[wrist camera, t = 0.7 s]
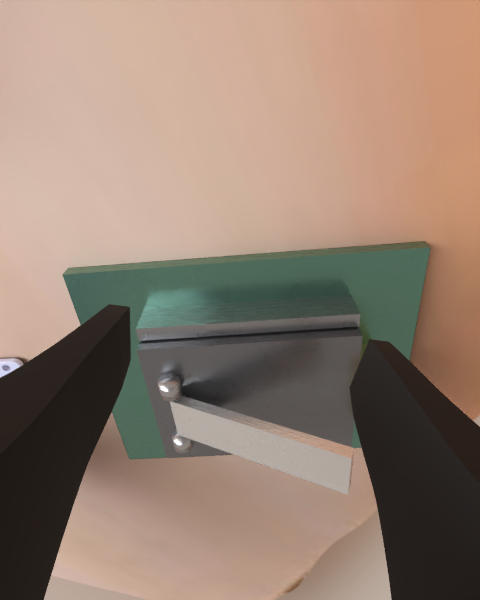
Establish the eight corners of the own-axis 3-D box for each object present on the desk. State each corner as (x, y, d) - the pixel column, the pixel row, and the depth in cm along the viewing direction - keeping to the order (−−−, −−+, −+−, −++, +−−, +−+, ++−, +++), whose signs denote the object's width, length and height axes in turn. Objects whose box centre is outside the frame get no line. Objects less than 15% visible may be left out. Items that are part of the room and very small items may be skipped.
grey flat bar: (183, 427, 24) (177, 434, 23) (175, 393, 22) (169, 400, 22) (350, 484, 19) (347, 494, 19) (354, 448, 18) (351, 458, 18)
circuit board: (131, 450, 30) (113, 514, 26) (68, 268, 22) (25, 318, 18) (390, 436, 29) (416, 501, 25) (424, 241, 21) (471, 286, 17)
